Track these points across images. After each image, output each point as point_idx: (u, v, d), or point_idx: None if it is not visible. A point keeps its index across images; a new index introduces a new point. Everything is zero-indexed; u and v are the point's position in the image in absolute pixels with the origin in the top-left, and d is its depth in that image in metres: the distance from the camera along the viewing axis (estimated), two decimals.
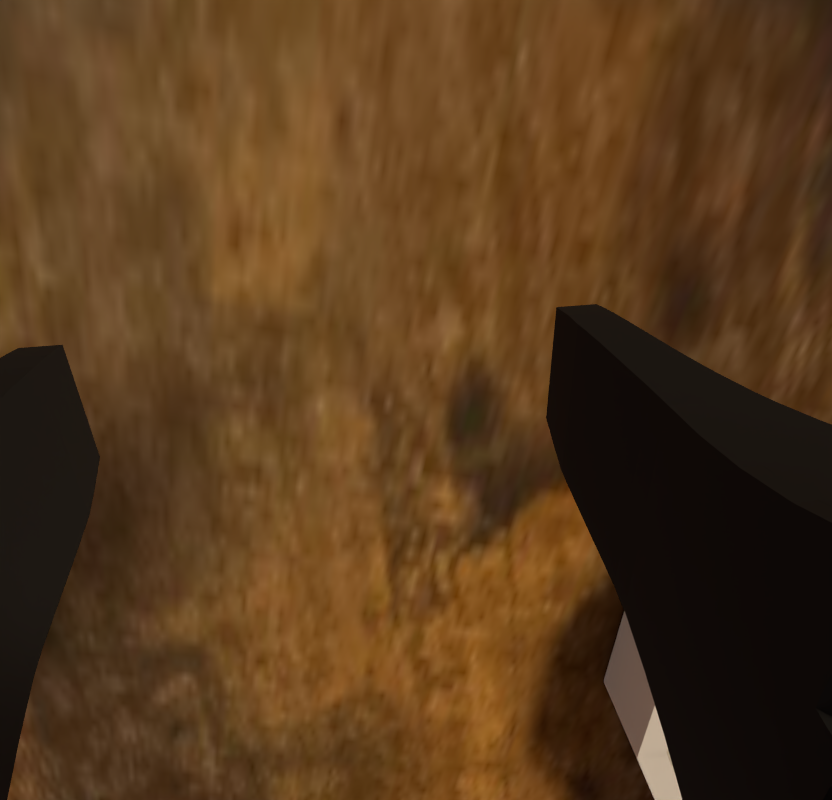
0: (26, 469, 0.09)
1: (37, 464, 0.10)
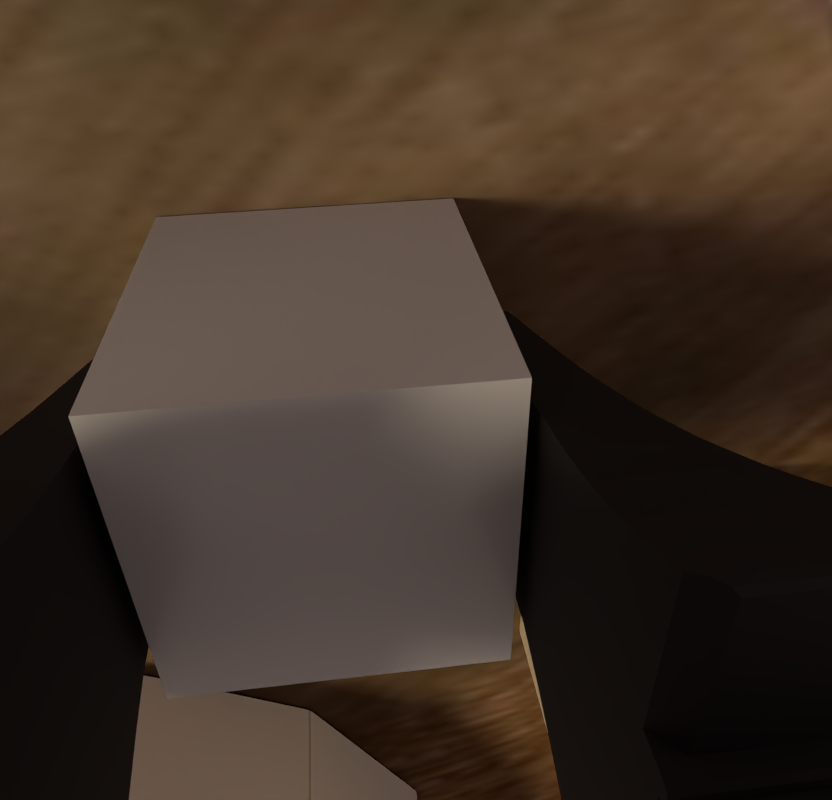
0: None
1: None
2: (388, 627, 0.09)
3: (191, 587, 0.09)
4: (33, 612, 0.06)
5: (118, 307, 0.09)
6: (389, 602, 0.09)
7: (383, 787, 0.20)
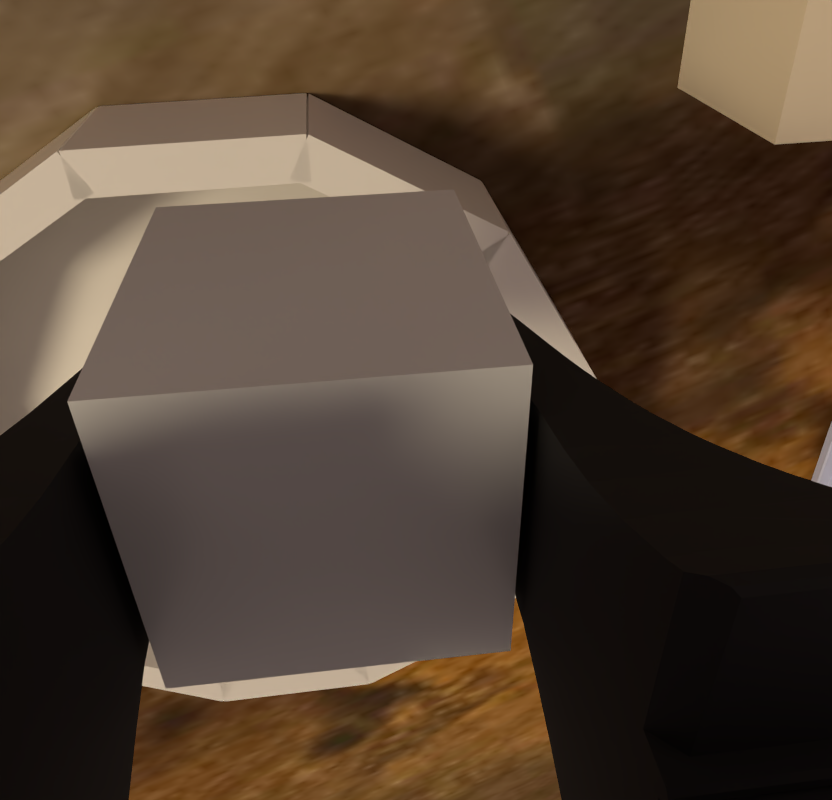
0: None
1: None
2: (388, 617, 0.09)
3: (190, 576, 0.09)
4: (31, 611, 0.06)
5: (118, 295, 0.09)
6: (389, 592, 0.09)
7: (540, 281, 0.21)
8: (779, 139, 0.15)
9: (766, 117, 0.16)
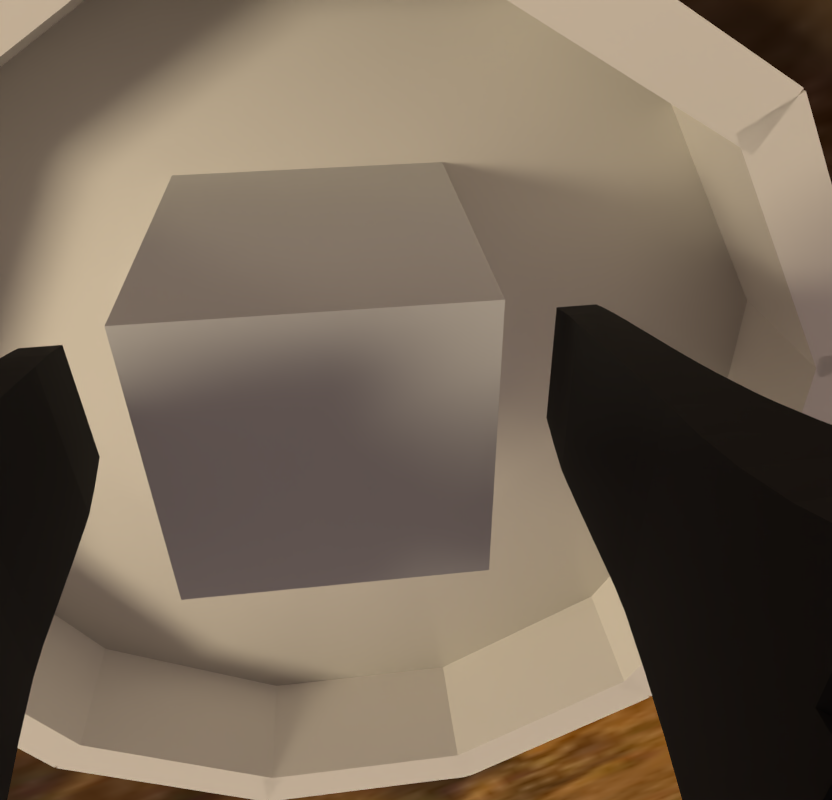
0: (26, 468, 0.09)
1: (37, 464, 0.10)
2: (379, 535, 0.10)
3: (206, 491, 0.10)
4: None
5: (142, 245, 0.10)
6: (380, 510, 0.10)
7: None
8: None
9: None
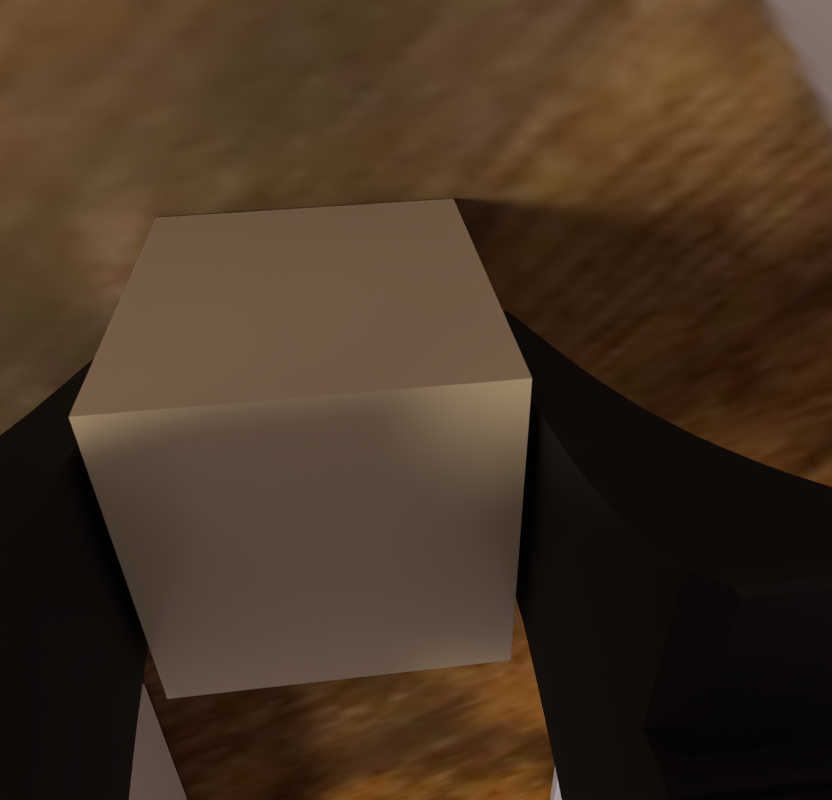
0: None
1: None
2: None
3: None
4: (31, 611, 0.06)
5: None
6: None
7: None
8: (171, 694, 0.10)
9: None
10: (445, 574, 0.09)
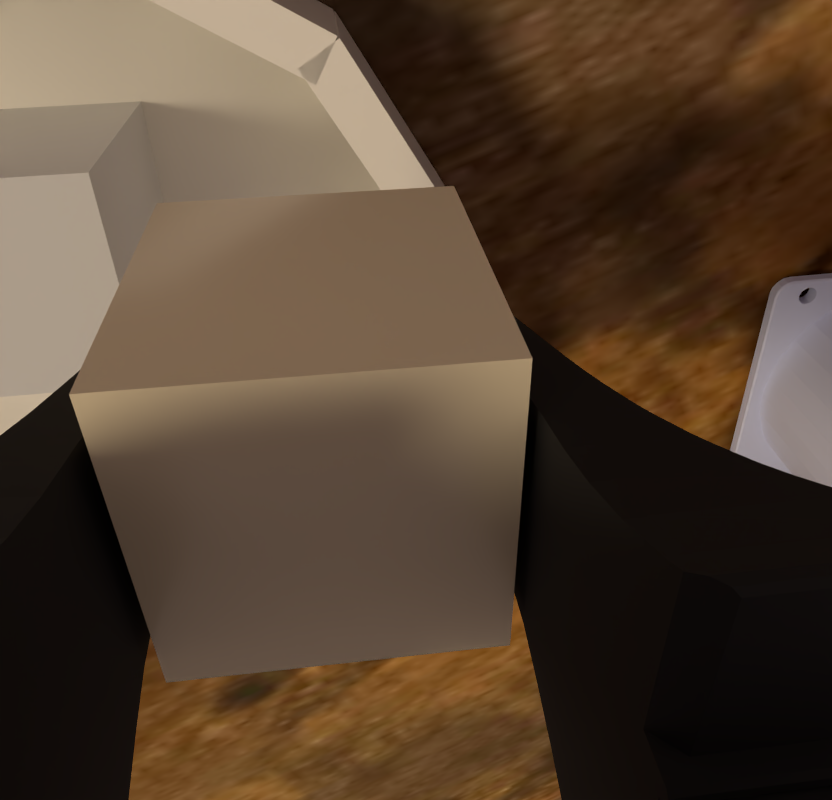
0: None
1: None
2: (55, 353, 0.15)
3: None
4: (31, 612, 0.06)
5: None
6: (50, 333, 0.15)
7: (411, 134, 0.19)
8: (170, 677, 0.10)
9: None
10: (444, 556, 0.09)
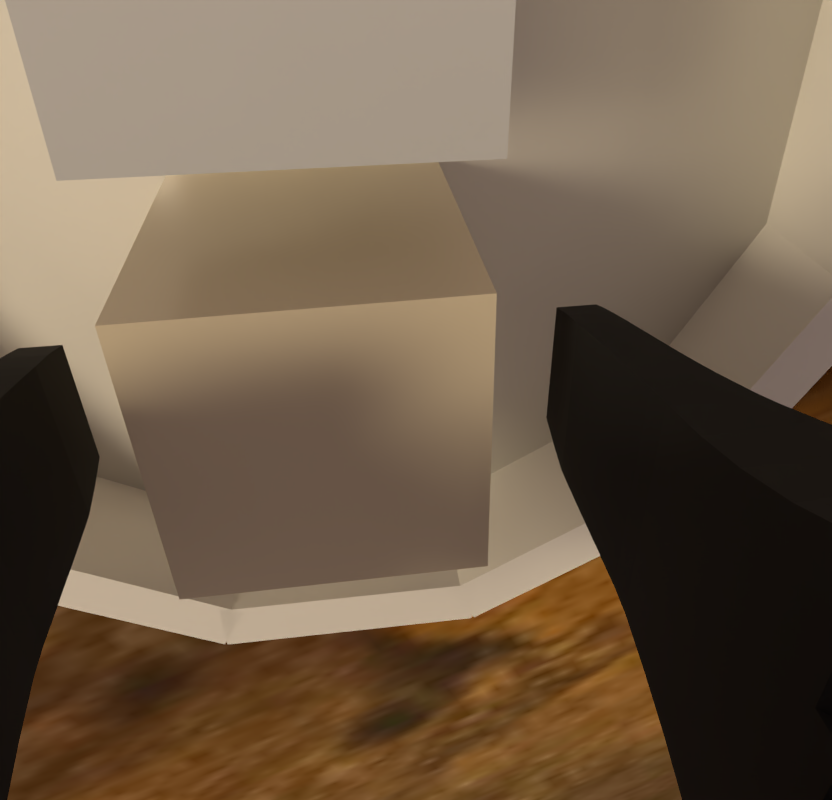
0: (25, 468, 0.09)
1: (37, 464, 0.10)
2: (346, 68, 0.07)
3: None
4: None
5: None
6: (347, 14, 0.07)
7: None
8: (183, 594, 0.11)
9: None
10: (425, 480, 0.10)
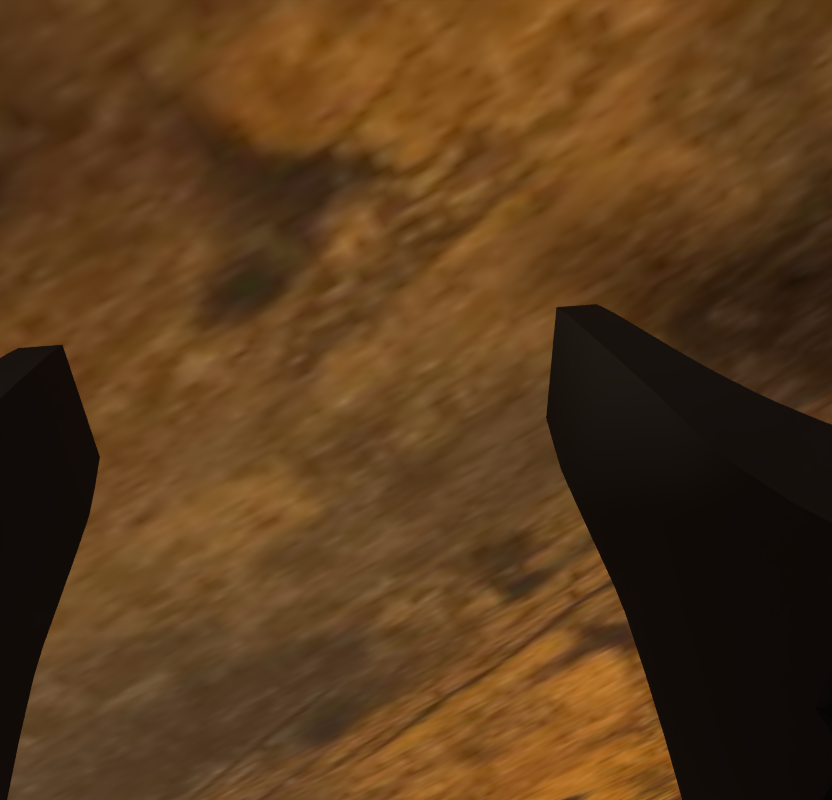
0: (26, 468, 0.09)
1: (37, 464, 0.10)
2: None
3: None
4: None
5: None
6: None
7: None
8: None
9: None
10: None
